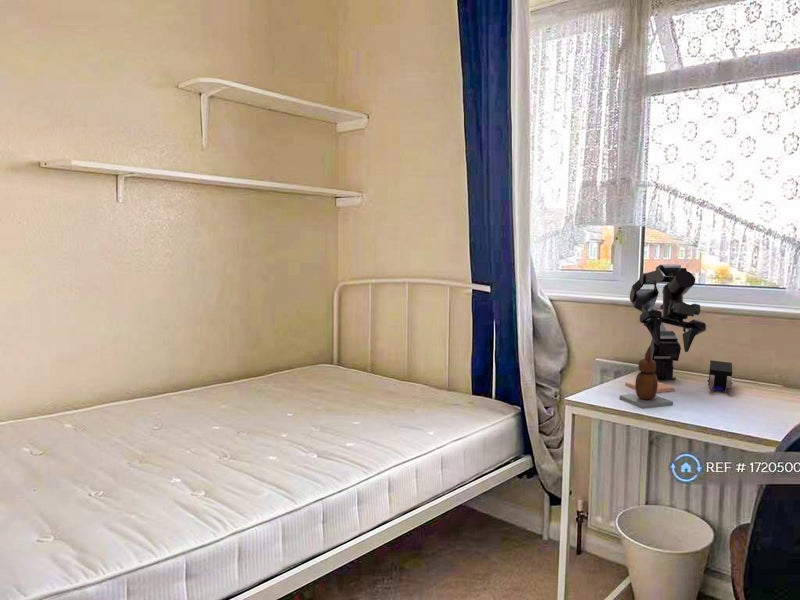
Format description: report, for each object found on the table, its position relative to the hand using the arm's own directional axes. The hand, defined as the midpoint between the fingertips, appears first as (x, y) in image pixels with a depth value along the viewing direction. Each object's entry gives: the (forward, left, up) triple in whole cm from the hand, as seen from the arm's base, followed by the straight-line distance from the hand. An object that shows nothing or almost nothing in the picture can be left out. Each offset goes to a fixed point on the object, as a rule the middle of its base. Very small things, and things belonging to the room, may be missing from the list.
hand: (672, 348), depth 181 cm
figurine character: (+3, +16, -13) cm, 21 cm away
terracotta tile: (-4, -4, -13) cm, 14 cm away
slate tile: (+8, -15, -13) cm, 21 cm away
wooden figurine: (+7, -15, -12) cm, 21 cm away
